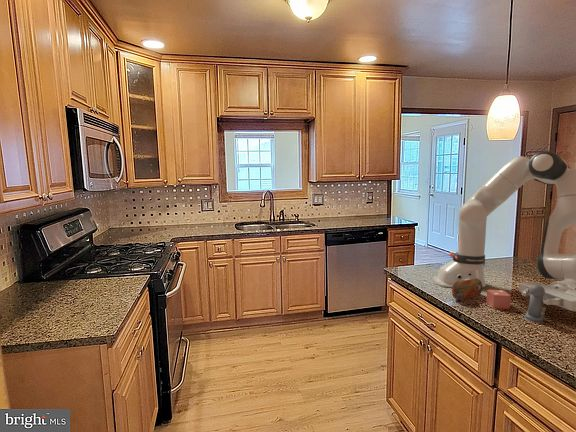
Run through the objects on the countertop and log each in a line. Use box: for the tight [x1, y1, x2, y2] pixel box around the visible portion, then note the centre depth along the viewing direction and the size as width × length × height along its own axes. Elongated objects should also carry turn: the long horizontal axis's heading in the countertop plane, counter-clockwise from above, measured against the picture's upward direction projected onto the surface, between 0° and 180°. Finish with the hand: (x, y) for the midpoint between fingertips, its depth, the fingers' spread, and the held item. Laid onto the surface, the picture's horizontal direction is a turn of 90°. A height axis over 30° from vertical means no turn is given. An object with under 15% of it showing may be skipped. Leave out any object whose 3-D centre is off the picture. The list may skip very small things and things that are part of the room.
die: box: [485, 289, 512, 310], centre depth 135 cm, size 6×6×6 cm
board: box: [524, 306, 547, 324], centre depth 128 cm, size 19×12×1 cm, turn 141°
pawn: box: [524, 285, 545, 323], centre depth 123 cm, size 5×5×12 cm
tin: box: [451, 278, 483, 302], centre depth 145 cm, size 15×3×8 cm, turn 114°
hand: (534, 297), depth 122 cm, fingers open, 6 cm apart
